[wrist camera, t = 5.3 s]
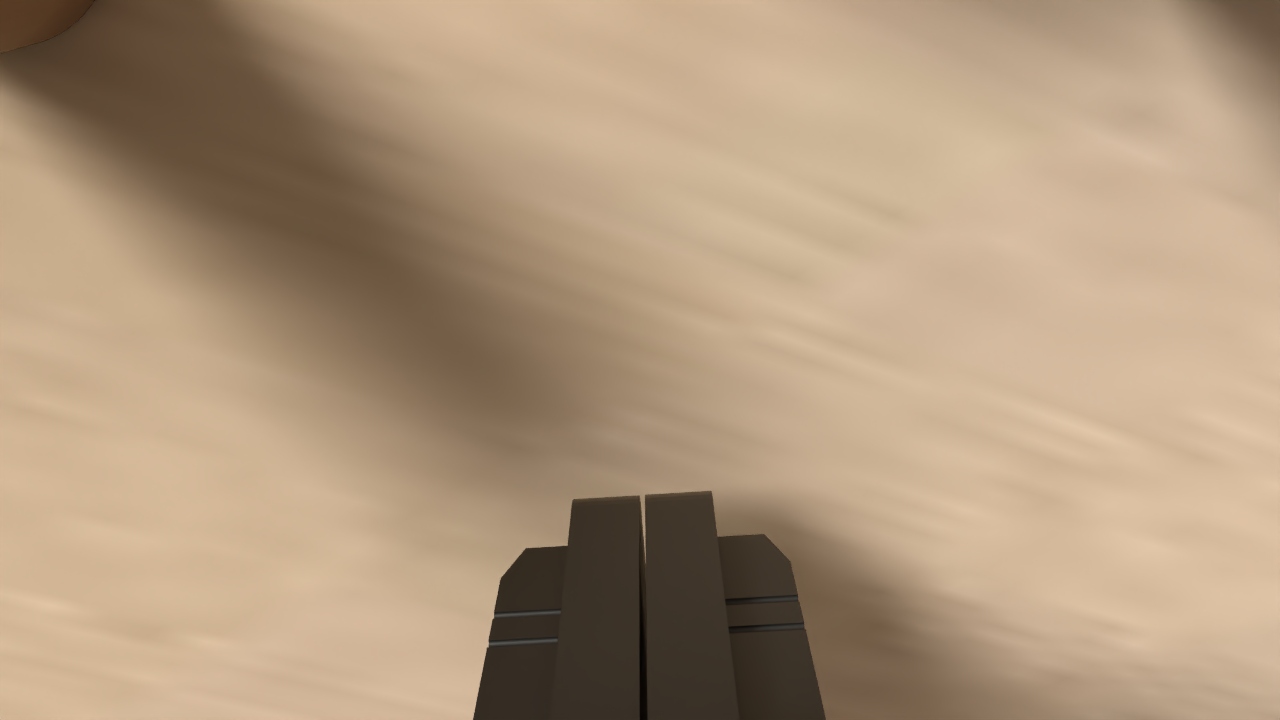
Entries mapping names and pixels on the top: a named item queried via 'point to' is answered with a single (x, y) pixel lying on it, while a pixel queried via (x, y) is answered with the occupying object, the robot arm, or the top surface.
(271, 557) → the top surface
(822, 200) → the top surface
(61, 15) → the post
